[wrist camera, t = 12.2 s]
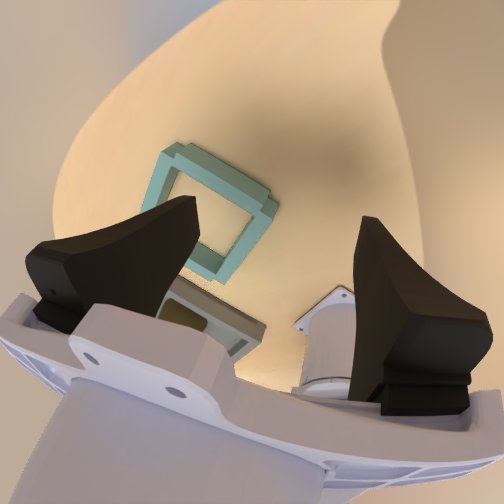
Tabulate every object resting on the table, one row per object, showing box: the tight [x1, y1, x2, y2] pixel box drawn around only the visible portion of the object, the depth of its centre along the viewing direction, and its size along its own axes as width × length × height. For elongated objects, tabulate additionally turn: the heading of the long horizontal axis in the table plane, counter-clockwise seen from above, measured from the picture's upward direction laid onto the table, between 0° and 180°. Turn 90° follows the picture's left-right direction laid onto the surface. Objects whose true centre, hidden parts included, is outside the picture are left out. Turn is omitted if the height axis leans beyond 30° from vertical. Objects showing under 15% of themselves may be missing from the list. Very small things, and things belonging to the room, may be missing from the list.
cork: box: [157, 298, 208, 333], centre depth 30 cm, size 6×6×11 cm
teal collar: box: [140, 142, 279, 285], centre depth 24 cm, size 10×10×2 cm
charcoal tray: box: [155, 275, 266, 363], centre depth 35 cm, size 16×13×2 cm
